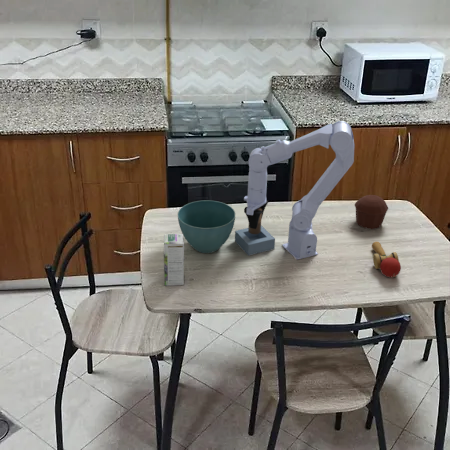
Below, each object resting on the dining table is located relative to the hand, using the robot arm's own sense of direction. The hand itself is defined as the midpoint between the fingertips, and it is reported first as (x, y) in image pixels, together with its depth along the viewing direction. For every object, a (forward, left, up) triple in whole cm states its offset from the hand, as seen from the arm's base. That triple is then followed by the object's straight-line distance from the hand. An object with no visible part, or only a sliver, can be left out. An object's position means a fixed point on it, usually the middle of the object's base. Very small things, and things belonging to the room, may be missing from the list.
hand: (255, 224), depth 186 cm
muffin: (-3, -44, -8) cm, 45 cm away
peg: (0, 0, -2) cm, 2 cm away
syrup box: (-8, +31, -8) cm, 33 cm away
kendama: (-26, -32, -8) cm, 42 cm away
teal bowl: (+5, +15, -8) cm, 18 cm away
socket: (0, 0, -8) cm, 8 cm away
